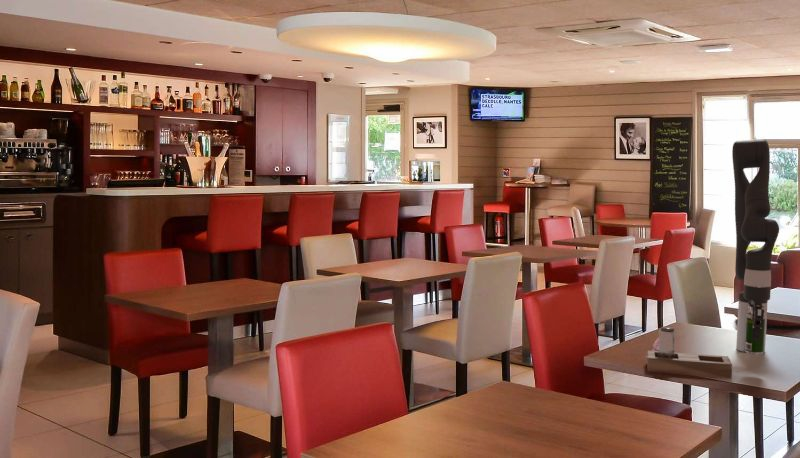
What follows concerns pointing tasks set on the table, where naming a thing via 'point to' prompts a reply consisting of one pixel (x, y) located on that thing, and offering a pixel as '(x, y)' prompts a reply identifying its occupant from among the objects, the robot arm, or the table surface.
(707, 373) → the caddy
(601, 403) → the table surface
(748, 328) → the beer can
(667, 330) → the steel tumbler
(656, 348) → the lily
